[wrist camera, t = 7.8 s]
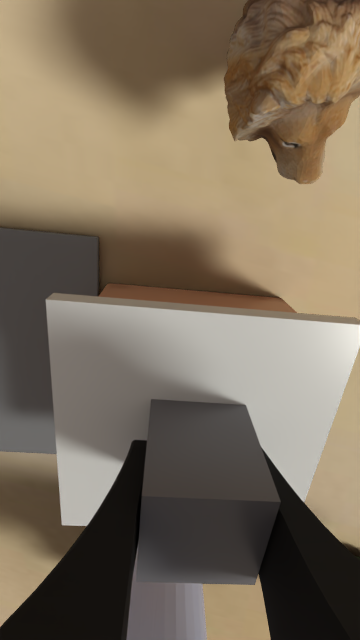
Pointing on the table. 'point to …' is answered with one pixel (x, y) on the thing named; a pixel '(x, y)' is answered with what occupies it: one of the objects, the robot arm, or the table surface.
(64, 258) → the mat
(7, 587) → the table surface
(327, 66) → the lion figurine
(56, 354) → the lid
